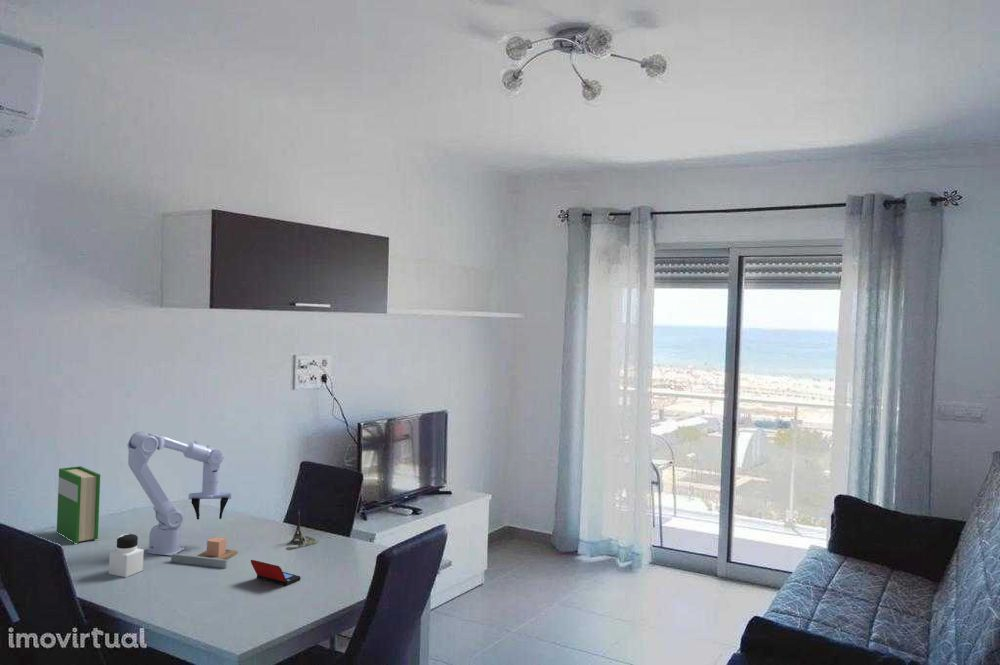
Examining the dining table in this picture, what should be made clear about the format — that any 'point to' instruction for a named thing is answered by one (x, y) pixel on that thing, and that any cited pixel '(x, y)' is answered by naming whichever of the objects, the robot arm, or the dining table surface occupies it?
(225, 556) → the walnut pad
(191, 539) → the dining table surface
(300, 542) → the eiffel tower figurine
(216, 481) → the robot arm
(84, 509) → the hardback book
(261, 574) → the handheld game console
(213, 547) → the terracotta block
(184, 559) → the low wall
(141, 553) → the medicine bottle
